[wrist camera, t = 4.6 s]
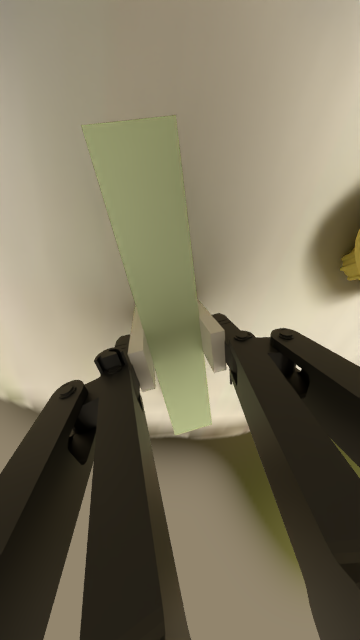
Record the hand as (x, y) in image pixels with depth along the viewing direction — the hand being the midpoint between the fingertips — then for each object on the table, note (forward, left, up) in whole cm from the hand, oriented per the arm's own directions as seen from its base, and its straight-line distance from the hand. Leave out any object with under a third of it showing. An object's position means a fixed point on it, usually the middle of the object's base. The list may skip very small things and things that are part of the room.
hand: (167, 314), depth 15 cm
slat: (0, 0, -1) cm, 1 cm away
